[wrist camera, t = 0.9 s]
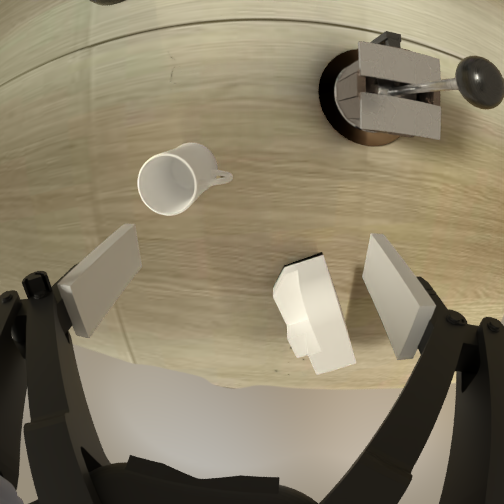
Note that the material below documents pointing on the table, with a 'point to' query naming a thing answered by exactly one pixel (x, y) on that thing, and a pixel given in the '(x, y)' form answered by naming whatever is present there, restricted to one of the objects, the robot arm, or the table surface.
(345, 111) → the wooden tankard
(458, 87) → the plunger
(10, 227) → the table surface
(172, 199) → the mug
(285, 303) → the tape dispenser
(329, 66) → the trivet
